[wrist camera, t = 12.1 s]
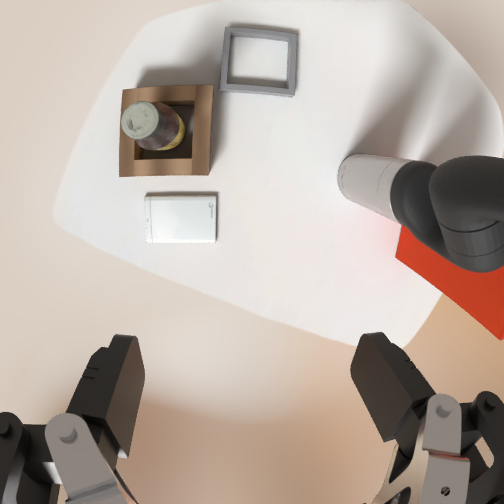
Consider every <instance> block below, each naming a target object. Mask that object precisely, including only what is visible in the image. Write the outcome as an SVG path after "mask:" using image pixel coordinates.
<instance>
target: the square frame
mask: <svg viewBox="0 0 504 504" xmlns="http://www.w3.org/2000/svg"><path fill="white" fill-rule="evenodd" d="M230 36H236V37H251V38H262V39H271V40H279V41H286V42H288V60H287V81H286V89H285V88H276V87H266V86H255V85H240V84H227V71H228V59H229V47H230ZM296 47H297V34H292V33H286V32H279V31H271V30H262V29H251V28H236V27H225V34H224V44H223V55H222V67H221V80H220V92H237V93H253V94H265V95H275V96H284V97H293V96H294V95H295V74H296Z"/></svg>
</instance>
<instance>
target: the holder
mask: <svg viewBox="0 0 504 504" xmlns="http://www.w3.org/2000/svg"><path fill="white" fill-rule="evenodd" d="M213 94H214V90H213V85H174V86H156V87H144V88H133V89H125V90H123V93H122V105H121V119H122V115H123V113H124V111H125V110H126V109H127V108H128V107H129V106H130V105H131V104H133V103H135V102H137V101H147V102H150V103H152V102H158V103H163V104H165V105H167V106H195V107H194V123H193V143H192V158H155V159H143V148H142V147H141V146H139V145H138V144H137V143H136V141H135V139H132V138H130V137H128V136H127V135H126V134H125V133H124V131H123V129H122V126H121V119H120V144H119V177H132V176H166V175H209V169H210V145H211V126H212V109H213Z"/></svg>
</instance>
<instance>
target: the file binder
mask: <svg viewBox="0 0 504 504" xmlns="http://www.w3.org/2000/svg"><path fill="white" fill-rule="evenodd" d="M395 258H397V259H398V260H400V261H401V262H402V263H404V264H405V265H407V266H408V267H409V268H411V269H412V270H413V271H415V272H416V273H418V274H419V275H420V276H422V277H423V278H424V279H426V280H427V281H428V282H430V283H431V284H432V285H434V286H435V287H436V288H437V289H439V290H440V291H441V292H443V293H444V294H445V295H446V296H448V297H449V298H450V299H452V300H453V301H454V302H455V303H457V304H458V305H459V306H460V307H461V308H463V309H464V310H465V311H466V312H468V313H469V314H470V315H471V316H472V317H474V318H475V319H476V320H477V321H478V322H479V323H481V324H482V325H483V326H484V327H485V328H486V329H488V330H489V331H490V332H491V333H492V334H493V335H494V336H495V337H497V338H498V339H499V340H503V339H504V266H502V267H501V268H499V269H497V270H495V271H492V272H486V273H477V272H471V271H468V270H464V269H462V268H460V267H458V266H456V265H454V264H453V263H451V262H449V261H448V260H446V259H445V258H443V257H442V256H441V255H439V254H438V253H436V252H435V251H433V250H432V249H430V248H429V247H427V246H426V245H424V244H423V243H421V242H420V241H419V240H418V239H417V238H416V237H415V236H414V235H413V234H412V233H411V232H410V230H409V229H408V228H407V227H405V226H403V225H402V229H401V234H400V239H399V243H398V248H397V253H396V257H395Z"/></svg>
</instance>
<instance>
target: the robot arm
mask: <svg viewBox="0 0 504 504" xmlns="http://www.w3.org/2000/svg"><path fill="white" fill-rule="evenodd" d="M338 185H339V188H340V191H341V192H342V194H343V195H344V196H345V197H346V198H347V199H349V200H351V201H353V202H355V203H357V204H359V205H361V206H364V207H366V208H368V209H370V210H372V211H374V212H376V213H379V214H381V215H383V216H385V217H387V218H389V219H391V220H393V221H395V222H397V223H399V224H401V225H403V226H405V227H407V228H408V229H409V230H410V232H411V233H412V234H413V235H414V236H415V237H416V238H417V239H418V240H419V241H420V242H421V243H423V244H424V245H426V246H427V247H429V248H430V249H432V250H433V251H435V252H436V253H438V254H439V255H441V256H442V257H443V258H445V259H446V260H448V261H449V262H451V263H453V264H454V265H456V266H458V267H460V268H462V269H464V270H468V271H471V272H477V273H486V272H492V271H495V270H497V269H499V268H501V267H502V266H504V159H503V158H497V157H489V156H464V157H459V158H455V159H452V160H449V161H447V162H445V163H443V164H441V165H440V166H439V167H437V166H435V165H433V164H431V163H428V162H423V161H416V160H409V159H402V158H394V157H386V156H377V155H369V154H354V155H351V156H349V157H347V158H346V159H345V160H344V161H343V163H342V164H341V166H340V168H339V171H338ZM350 371H351V377H352V380H353V381H354V384H355V385H356V387H357V389H358V391H359V393H360V395H361V397H362V399H363V401H364V403H365V405H366V407H367V409H368V411H369V413H370V415H371V417H372V419H373V421H374V423H375V425H376V427H377V429H378V431H379V433H380V435H381V437H382V439H383V441H384V442H387V441H390V440H393V439H396V441H397V444H396V445H395V447H394V450H393V454H392V457H391V461H390V464H389V468H388V471H387V474H386V477H385V480H384V483H383V486H382V488H381V490H380V491H379V493H378V494H377V495H376V497H375V498H374V500H373V502H372V503H371V504H504V404H503V402H502V401H501V400H500V398H499V397H498V396H497V395H495V394H494V393H492V392H489V391H483V392H481V393H479V394H478V395H477V397H476V398H475V400H474V401H473V402H471V403H458V402H457V401H456V400H455V399H454V398H453V397H451V396H449V395H446V394H436V393H435V391H434V390H433V389H432V387H431V386H430V385H429V383H428V382H427V381H426V379H425V378H424V377H423V375H422V374H421V373H420V371H419V370H418V369H417V368H416V366H415V365H414V363H413V362H412V361H410V358H409V357H408V356H407V354H406V353H405V352H404V351H403V350H402V349H401V348H399V347H398V346H397V345H395V344H394V343H391V342H390V341H389V339H388V338H387V337H386V336H385V334H384V333H382V332H376V333H367V334H363V335H362V336H361V338H360V340H359V343H358V346H357V349H356V352H355V355H354V357H353V360H352V363H351V369H350ZM144 381H145V370H144V365H143V361H142V356H141V352H140V347H139V342H138V339H137V337H136V336H130V335H118V334H116V335H114V337H113V339H112V341H111V343H110V345H109V347H108V348H106V347H101V348H100V349H99V350H98V351H96V352H95V353H94V354H93V355H92V356H91V358H90V360H89V362H88V364H87V366H86V369H85V371H84V373H83V375H82V378H81V379H80V381H79V384H78V386H77V388H76V390H75V392H74V395H73V397H72V399H71V402H70V404H69V406H68V409H67V411H66V413H63V414H59V415H56V416H55V417H53V418H52V419H51V420H50V421H49V422H48V424H46V425H32V424H31V425H30V424H23V423H22V422H21V421H20V419H19V418H18V417H17V416H16V415H14V414H13V413H10V412H2V413H0V504H57V500H58V495H59V488H60V484H63V486H64V488H65V490H66V493H67V495H68V499H67V500H66V501H65V503H66V504H140V503H139V502H138V500H137V499H136V497H135V496H134V494H133V493H132V492H131V490H130V489H129V487H128V486H127V484H126V482H125V481H124V479H123V478H122V476H121V475H120V473H119V471H118V470H117V468H116V463H117V457H122V458H128V457H129V452H130V446H131V441H132V436H133V431H134V426H135V422H136V417H137V412H138V408H139V403H140V399H141V395H142V391H143V387H144ZM481 437H483V438H484V440H485V442H486V443H487V445H488V447H489V448H490V450H491V452H492V454H493V455H494V463H493V465H492V466H491V468H489V467H487V466H486V464H485V461H484V460H483V458H482V456H481V454H480V453H479V451H478V449H477V447H476V446H475V443H476V442H477V441H478V440H479V439H480V438H481ZM364 504H366V503H364Z"/></svg>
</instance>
